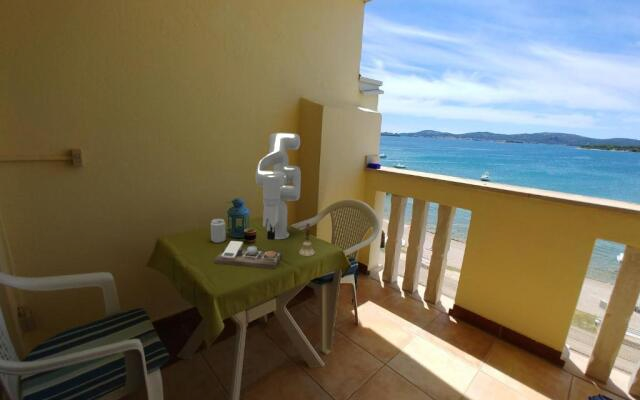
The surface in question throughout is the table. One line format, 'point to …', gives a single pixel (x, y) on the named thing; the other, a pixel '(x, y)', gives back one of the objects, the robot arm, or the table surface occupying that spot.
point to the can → (218, 230)
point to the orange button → (270, 254)
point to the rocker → (232, 250)
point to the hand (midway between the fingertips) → (271, 238)
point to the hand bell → (307, 244)
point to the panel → (249, 259)
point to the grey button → (251, 250)
